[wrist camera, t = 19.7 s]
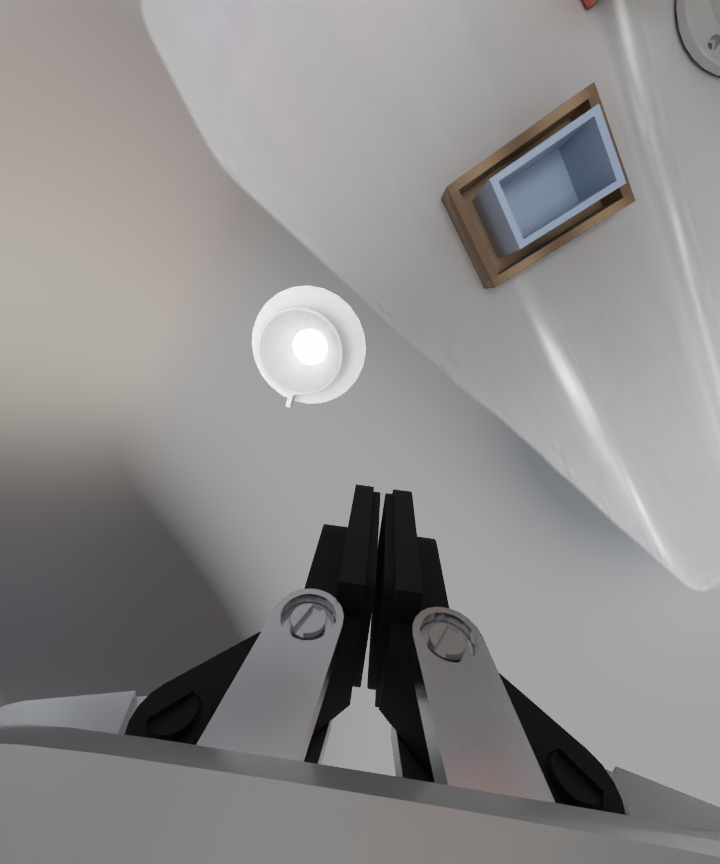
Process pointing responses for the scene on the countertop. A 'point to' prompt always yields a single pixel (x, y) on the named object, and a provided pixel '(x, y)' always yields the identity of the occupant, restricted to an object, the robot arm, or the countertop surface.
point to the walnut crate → (473, 181)
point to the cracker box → (589, 2)
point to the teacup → (308, 344)
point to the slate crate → (550, 184)
